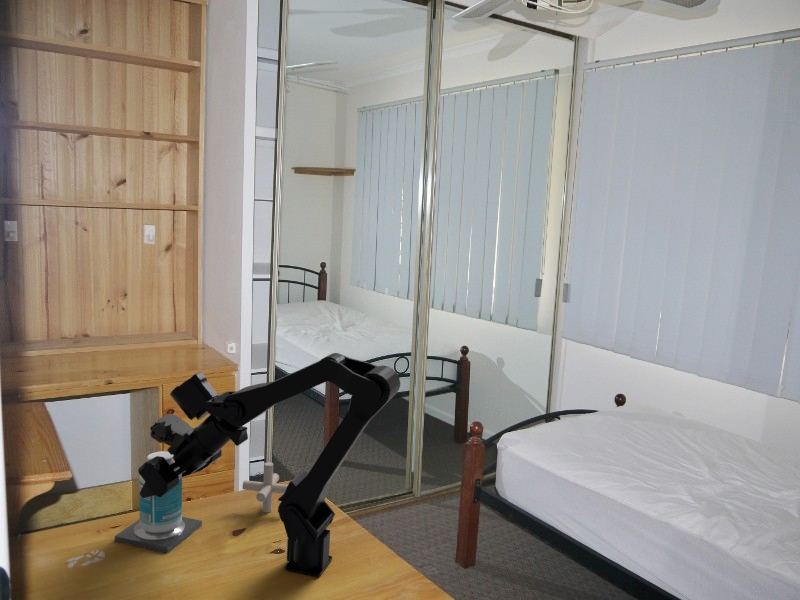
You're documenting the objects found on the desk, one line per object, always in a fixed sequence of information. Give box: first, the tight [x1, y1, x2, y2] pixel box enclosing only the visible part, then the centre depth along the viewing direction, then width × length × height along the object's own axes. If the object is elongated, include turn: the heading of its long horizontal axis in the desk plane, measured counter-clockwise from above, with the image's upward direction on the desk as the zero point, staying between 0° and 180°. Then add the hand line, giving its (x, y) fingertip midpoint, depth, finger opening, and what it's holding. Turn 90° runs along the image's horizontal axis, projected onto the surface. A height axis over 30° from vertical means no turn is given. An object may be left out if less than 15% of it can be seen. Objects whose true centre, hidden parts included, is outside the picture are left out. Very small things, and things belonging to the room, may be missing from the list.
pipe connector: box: [242, 461, 288, 514], centre depth 135 cm, size 10×10×10 cm
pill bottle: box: [138, 450, 183, 533], centre depth 123 cm, size 8×7×14 cm
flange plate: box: [114, 516, 203, 554], centre depth 124 cm, size 11×11×1 cm
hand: (154, 487), depth 123 cm, fingers closed on pill bottle, 7 cm apart
